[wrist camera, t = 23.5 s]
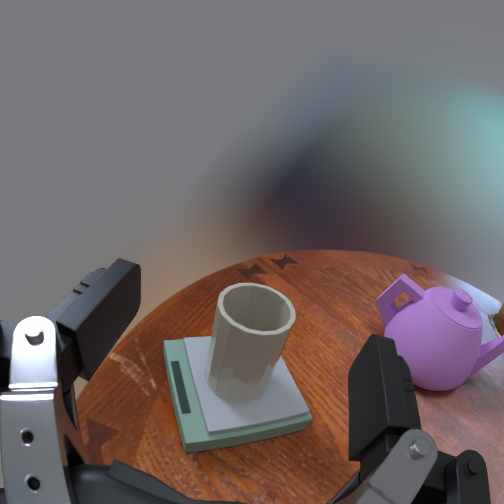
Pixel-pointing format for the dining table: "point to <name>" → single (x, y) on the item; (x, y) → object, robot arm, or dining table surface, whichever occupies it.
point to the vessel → (498, 321)
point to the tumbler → (247, 340)
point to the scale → (227, 402)
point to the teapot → (436, 334)
